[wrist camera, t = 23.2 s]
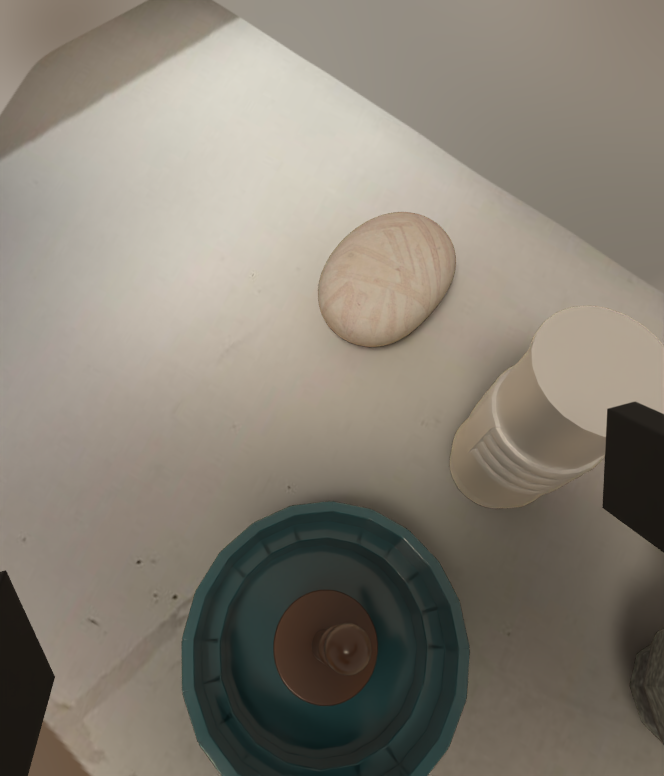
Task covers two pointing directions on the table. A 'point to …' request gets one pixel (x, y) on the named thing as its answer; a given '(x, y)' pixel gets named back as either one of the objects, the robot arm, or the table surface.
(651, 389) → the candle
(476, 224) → the table surface
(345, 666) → the wooden peg stand
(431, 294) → the decorative stone
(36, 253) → the table surface
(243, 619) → the bowl
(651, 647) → the mortar and pestle
